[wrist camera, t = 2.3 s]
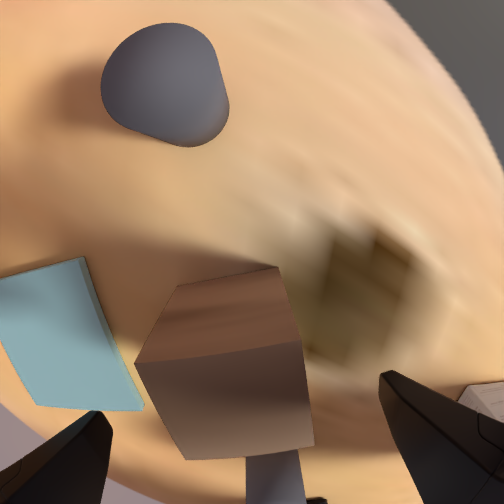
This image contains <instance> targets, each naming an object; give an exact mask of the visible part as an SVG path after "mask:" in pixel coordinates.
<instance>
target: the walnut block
mask: <svg viewBox="0 0 504 504" xmlns="http://www.w3.org/2000/svg"><path fill="white" fill-rule="evenodd" d="M134 365H135V367H136V369H137V371H138V374H139V376H140V378H141V380H142V382H143V384H144V386H145V388H146V390H147V392H148V394H149V396H150V398H151V400H152V402H153V404H154V406H155V408H156V410H157V412H158V414H159V415H160V417H161V419H162V421H163V423H164V425H165V426H166V428H167V430H168V432H169V433H170V435H171V437H172V439H173V440H174V442H175V444H176V445H177V447H178V449H179V450H180V452H181V454H182V455H183V457H184V458H185V460H207V459H224V458H236V457H246V456H255V455H263V454H270V453H277V452H283V451H289V450H294V449H300V448H305V447H310V446H315V442H314V433H313V425H312V417H311V409H310V401H309V393H308V386H307V379H306V371H305V364H304V357H303V350H302V343H301V338H300V335H299V332H298V328H297V325H296V322H295V319H294V316H293V312H292V309H291V306H290V303H289V300H288V297H287V293H286V290H285V287H284V284H283V281H282V278H281V275H280V272H279V268H278V267H275V268H270V269H265V270H260V271H255V272H249V273H244V274H239V275H234V276H229V277H223V278H218V279H213V280H207V281H202V282H197V283H191V284H186V285H180V286H177V288H176V289H175V291H174V293H173V294H172V296H171V298H170V300H169V301H168V303H167V305H166V307H165V308H164V310H163V312H162V314H161V315H160V317H159V319H158V321H157V322H156V324H155V326H154V328H153V330H152V331H151V333H150V335H149V337H148V338H147V340H146V342H145V344H144V346H143V348H142V349H141V351H140V353H139V355H138V357H137V359H136V360H135V362H134Z"/></svg>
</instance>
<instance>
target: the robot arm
mask: <svg viewBox="0 0 504 504" xmlns="http://www.w3.org/2000/svg"><path fill="white" fill-rule="evenodd" d="M378 394H379V399H380V402H381V405H382V408H383V411H384V414H385V417H386V419H387V422H388V425H389V428H390V431H391V434H392V437H393V439H394V441H395V444H396V446H397V448H398V450H399V452H400V454H401V456H402V458H403V460H404V462H405V464H406V466H407V468H408V470H409V472H410V475H411V477H412V479H413V481H414V483H415V485H416V487H417V490H418V492H419V494H420V496H421V498H422V500H423V503H424V504H504V423H503V422H501V421H498V420H496V419H493V418H491V417H489V416H486V415H484V414H482V413H480V412H479V413H478V412H477V411H475V410H473V409H471V408H469V407H467V406H465V405H463V404H461V403H458V402H456V401H454V400H452V399H450V398H448V397H446V396H444V395H442V394H440V393H438V392H436V391H434V390H432V389H430V388H428V387H426V386H424V385H422V384H420V383H418V382H416V381H414V380H412V379H410V378H408V377H406V376H404V375H402V374H400V373H398V372H396V371H394V370H390V371H387V372H384V373H381V374H380V377H379V392H378ZM112 437H113V429H112V426H111V425H110V423H109V422H108V420H107V419H106V417H105V415H104V414H103V413H102V412H101V411H95V410H92V411H89V412H88V413H86V414H85V415H83V416H82V417H81V418H79V419H78V420H76V421H75V422H74V423H72V424H71V425H69V426H68V427H66V428H65V429H64V430H62V431H61V432H59V433H58V434H56V435H55V436H54V437H52V438H51V439H49V440H48V441H46V442H45V443H43V444H42V445H41V446H39V447H38V448H36V449H35V450H33V451H32V452H30V453H29V454H27V455H26V456H24V457H23V459H20V460H18V461H17V462H16V463H14V464H12V465H11V466H9V467H8V468H6V469H4V470H2V471H1V472H0V504H100V503H101V498H102V493H103V489H104V485H105V479H106V476H107V471H108V466H109V459H110V451H111V444H112ZM306 503H307V504H328V503H327V499H319V500H314V501H309V502H306Z"/></svg>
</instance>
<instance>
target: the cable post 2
mask: <svg viewBox="0 0 504 504" xmlns="http://www.w3.org/2000/svg"><path fill="white" fill-rule="evenodd" d="M246 504H307V503H306V497H305V491H304V485H303V479H302V473H301V467H300V461H299V455H298V449H294V450H289V451H283V452H277V453H270V454H263V455H255V456H246Z"/></svg>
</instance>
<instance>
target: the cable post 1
mask: <svg viewBox="0 0 504 504" xmlns="http://www.w3.org/2000/svg"><path fill="white" fill-rule="evenodd" d="M101 96H102V100H103V103H104V106H105V108H106V110H107V112H108V113H109V114H110V116H111V117H112V118H113V119H114V120H115V121H116V122H118V123H119V124H120V125H122V126H124V127H126V128H128V129H131V130H134V131H137V132H140V133H143V134H146V135H149V136H151V137H154V138H157V139H160V140H163V141H165V142H168V143H171V144H174V145H177V146H180V147H196V146H200V145H203V144H205V143H207V142H209V141H211V140H212V139H213V138H215V137H216V136H217V135H218V134H219V133H220V132H221V130H222V129H223V128H224V126H225V124H226V122H227V119H228V116H229V101H228V97H227V93H226V89H225V85H224V82H223V78H222V74H221V70H220V67H219V63H218V59H217V56H216V52H215V50H214V48H213V46H212V44H211V42H210V41H209V40H208V39H207V38H206V37H205V35H204V34H202V33H201V32H199V31H198V30H196V29H194V28H192V27H190V26H187V25H184V24H179V23H161V24H156V25H152V26H148V27H146V28H143V29H141V30H139V31H137V32H135V33H134V34H132V35H131V36H129V37H128V38H127V39H125V40H124V41H123V42H122V43H121V44H120V45H119V46H118V47H117V48H116V49H115V51H114V52H113V53H112V55H111V56H110V58H109V59H108V61H107V63H106V65H105V68H104V71H103V74H102V79H101Z"/></svg>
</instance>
